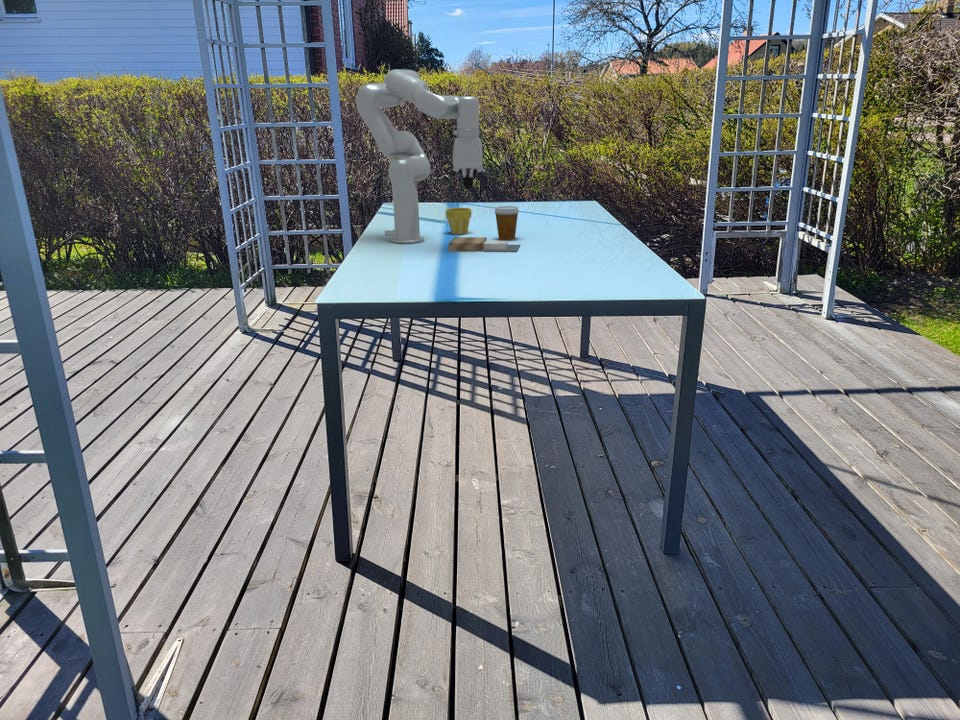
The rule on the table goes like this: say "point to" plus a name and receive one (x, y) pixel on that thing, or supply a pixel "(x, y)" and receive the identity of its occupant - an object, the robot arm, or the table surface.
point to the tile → (495, 245)
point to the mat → (509, 249)
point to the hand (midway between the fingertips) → (468, 188)
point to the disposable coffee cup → (506, 222)
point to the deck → (467, 244)
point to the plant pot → (458, 219)
